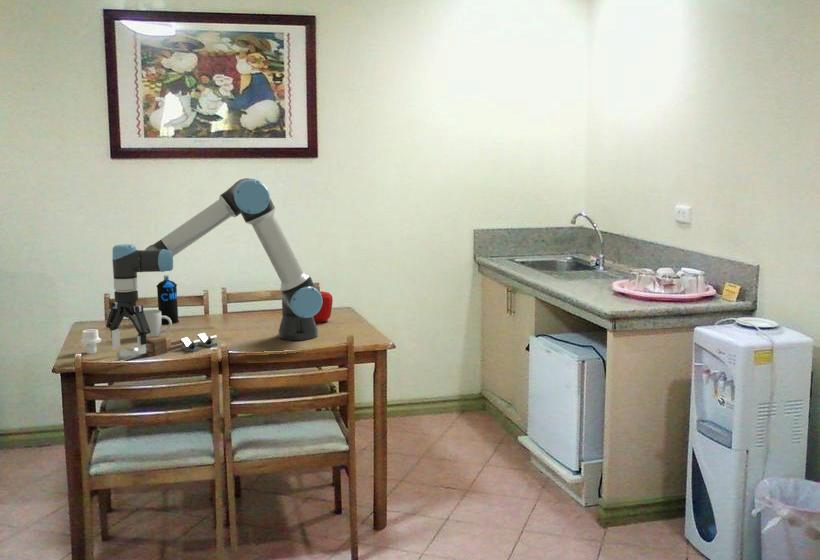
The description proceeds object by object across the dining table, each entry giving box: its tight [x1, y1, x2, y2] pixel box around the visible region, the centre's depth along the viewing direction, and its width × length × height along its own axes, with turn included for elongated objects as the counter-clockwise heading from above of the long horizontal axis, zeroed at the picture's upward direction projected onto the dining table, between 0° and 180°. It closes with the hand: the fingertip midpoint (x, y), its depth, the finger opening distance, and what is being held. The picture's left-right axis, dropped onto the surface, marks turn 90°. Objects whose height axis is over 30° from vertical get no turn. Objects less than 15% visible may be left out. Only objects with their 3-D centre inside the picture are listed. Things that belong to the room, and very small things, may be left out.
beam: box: [146, 335, 184, 357], centre depth 281 cm, size 9×21×5 cm, turn 148°
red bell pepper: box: [313, 289, 334, 324], centre depth 327 cm, size 10×10×14 cm
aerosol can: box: [156, 274, 180, 326], centre depth 325 cm, size 8×8×20 cm
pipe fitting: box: [79, 328, 102, 355], centre depth 276 cm, size 6×7×8 cm
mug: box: [141, 309, 173, 337], centre depth 299 cm, size 13×9×10 cm
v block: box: [179, 332, 218, 353], centre depth 283 cm, size 7×11×4 cm, turn 148°
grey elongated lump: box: [116, 345, 149, 361], centre depth 269 cm, size 10×4×4 cm, turn 147°
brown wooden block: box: [146, 337, 172, 353], centre depth 278 cm, size 3×10×4 cm, turn 148°
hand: (129, 351), depth 268 cm, fingers open, 13 cm apart
